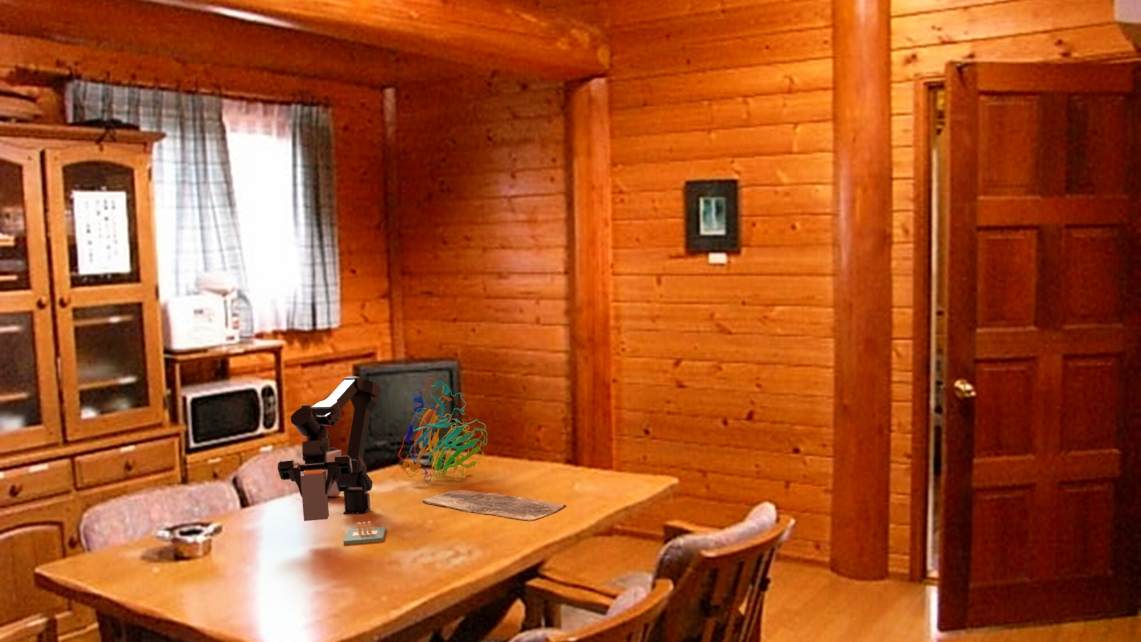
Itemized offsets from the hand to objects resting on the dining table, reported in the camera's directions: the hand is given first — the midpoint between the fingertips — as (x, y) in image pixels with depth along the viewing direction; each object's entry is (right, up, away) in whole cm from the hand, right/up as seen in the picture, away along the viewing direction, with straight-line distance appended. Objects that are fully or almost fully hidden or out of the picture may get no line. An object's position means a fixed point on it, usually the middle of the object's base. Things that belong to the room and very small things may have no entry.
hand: (313, 494), depth 262 cm
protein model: (+25, -7, +70) cm, 75 cm away
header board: (+13, -12, +4) cm, 18 cm away
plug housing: (0, -6, +2) cm, 7 cm away
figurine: (-8, -10, +52) cm, 54 cm away
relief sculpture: (+44, -9, +31) cm, 55 cm away
